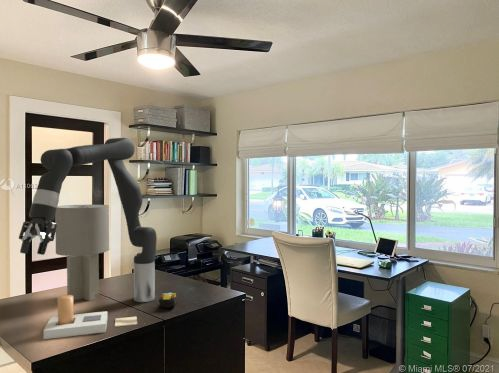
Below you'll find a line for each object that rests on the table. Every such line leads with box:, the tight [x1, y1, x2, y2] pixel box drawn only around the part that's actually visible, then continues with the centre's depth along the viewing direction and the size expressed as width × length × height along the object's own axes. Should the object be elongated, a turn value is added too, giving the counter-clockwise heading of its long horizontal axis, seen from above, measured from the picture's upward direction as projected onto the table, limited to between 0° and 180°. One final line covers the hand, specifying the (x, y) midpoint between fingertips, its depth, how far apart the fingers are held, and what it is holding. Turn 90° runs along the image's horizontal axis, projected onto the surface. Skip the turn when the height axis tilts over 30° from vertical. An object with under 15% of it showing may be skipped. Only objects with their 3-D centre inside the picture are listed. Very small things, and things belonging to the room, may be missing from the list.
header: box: [43, 310, 108, 340], centre depth 141 cm, size 14×20×3 cm
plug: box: [57, 294, 75, 325], centre depth 140 cm, size 5×5×12 cm
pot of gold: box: [158, 292, 178, 309], centre depth 167 cm, size 6×13×6 cm, turn 2°
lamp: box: [54, 204, 110, 302], centre depth 178 cm, size 23×23×43 cm
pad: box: [114, 316, 138, 328], centre depth 147 cm, size 8×8×1 cm
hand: (31, 253), depth 123 cm, fingers open, 8 cm apart
